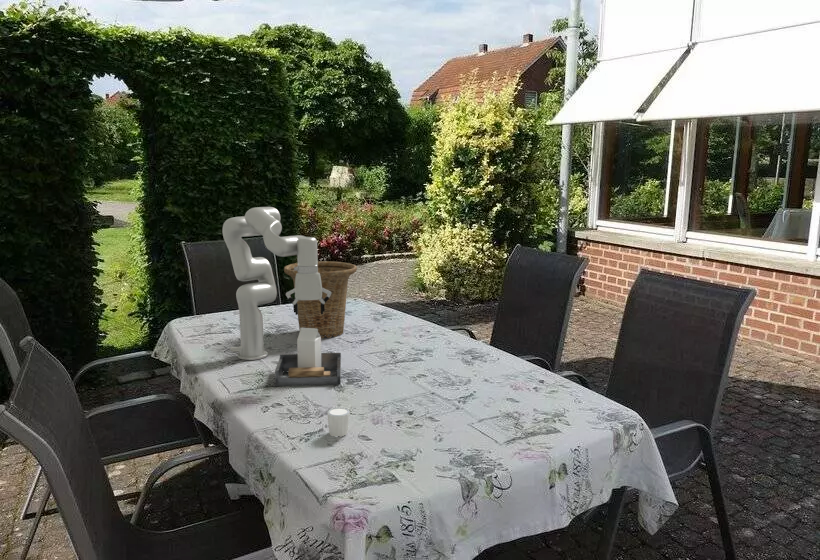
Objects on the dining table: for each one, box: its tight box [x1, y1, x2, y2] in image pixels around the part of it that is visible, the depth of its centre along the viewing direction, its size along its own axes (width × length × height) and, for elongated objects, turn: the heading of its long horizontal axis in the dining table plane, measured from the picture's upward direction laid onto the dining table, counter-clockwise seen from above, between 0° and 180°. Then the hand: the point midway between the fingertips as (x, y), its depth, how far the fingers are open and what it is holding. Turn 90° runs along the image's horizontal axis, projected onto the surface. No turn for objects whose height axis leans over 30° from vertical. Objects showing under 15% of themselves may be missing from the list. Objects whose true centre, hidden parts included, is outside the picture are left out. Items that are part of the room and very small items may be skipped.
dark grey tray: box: [274, 352, 342, 387], centre depth 241 cm, size 24×18×7 cm
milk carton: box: [296, 328, 322, 368], centre depth 242 cm, size 7×7×19 cm
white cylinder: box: [326, 407, 351, 437], centre depth 190 cm, size 7×7×7 cm
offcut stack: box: [287, 367, 331, 377], centre depth 236 cm, size 16×5×5 cm, turn 95°
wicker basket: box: [283, 260, 358, 340], centre depth 304 cm, size 35×35×33 cm
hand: (309, 313), depth 239 cm, fingers open, 9 cm apart
